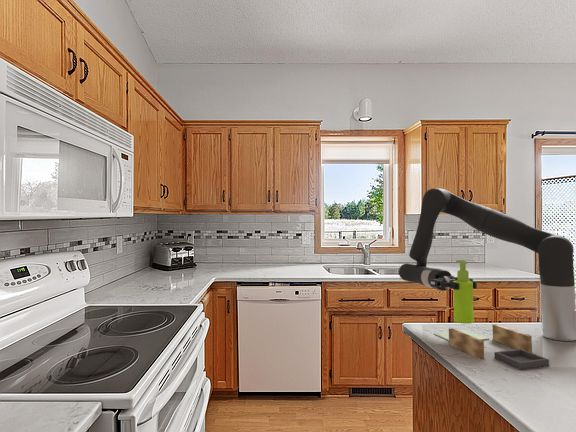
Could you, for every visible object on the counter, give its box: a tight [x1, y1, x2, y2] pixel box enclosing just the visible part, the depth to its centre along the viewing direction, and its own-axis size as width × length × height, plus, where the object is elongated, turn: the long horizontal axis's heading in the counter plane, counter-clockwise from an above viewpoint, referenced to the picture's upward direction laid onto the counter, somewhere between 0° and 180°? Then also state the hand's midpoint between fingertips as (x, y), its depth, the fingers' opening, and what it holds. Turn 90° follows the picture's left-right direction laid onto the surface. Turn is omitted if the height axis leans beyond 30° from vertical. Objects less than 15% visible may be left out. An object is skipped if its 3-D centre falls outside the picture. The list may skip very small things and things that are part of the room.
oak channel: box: [448, 323, 533, 360], centre depth 117 cm, size 14×17×5 cm
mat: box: [433, 329, 490, 342], centre depth 130 cm, size 11×13×1 cm
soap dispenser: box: [453, 260, 475, 325], centre depth 129 cm, size 6×7×20 cm
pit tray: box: [494, 349, 550, 371], centre depth 106 cm, size 9×9×2 cm
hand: (467, 285), depth 126 cm, fingers closed on soap dispenser, 6 cm apart
